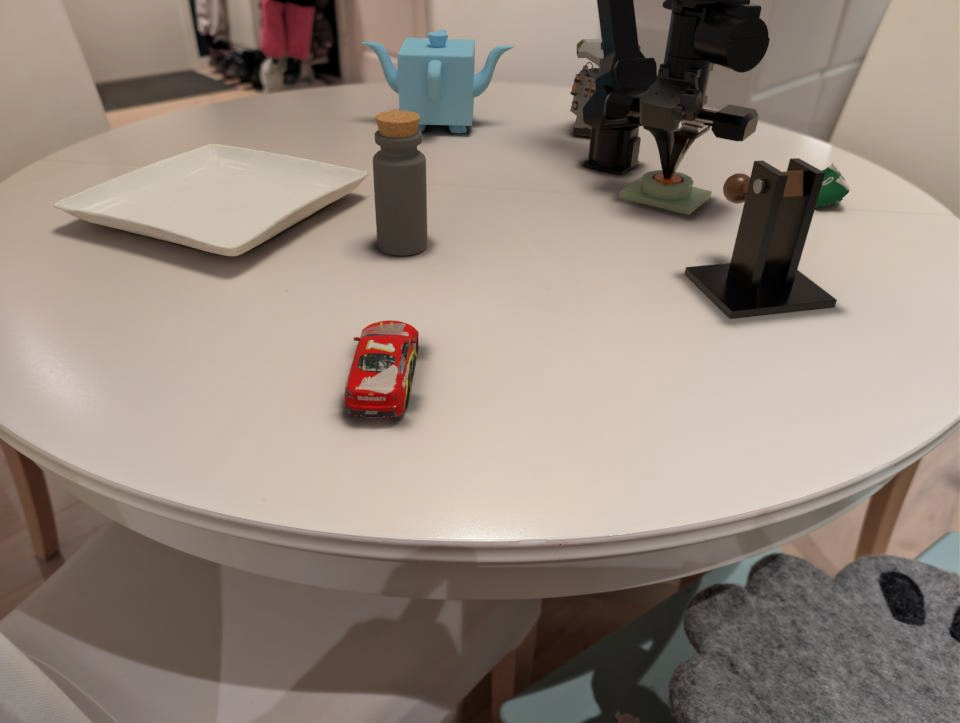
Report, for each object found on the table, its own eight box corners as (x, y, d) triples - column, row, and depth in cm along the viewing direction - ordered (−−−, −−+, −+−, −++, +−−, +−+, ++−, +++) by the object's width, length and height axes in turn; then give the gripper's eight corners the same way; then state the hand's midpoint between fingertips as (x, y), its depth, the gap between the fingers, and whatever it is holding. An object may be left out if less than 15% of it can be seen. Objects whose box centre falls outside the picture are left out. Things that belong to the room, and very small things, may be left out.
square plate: (374, 196, 100) (372, 168, 97) (237, 280, 79) (232, 246, 77) (215, 163, 109) (210, 137, 106) (56, 231, 88) (46, 199, 86)
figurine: (631, 143, 122) (645, 46, 113) (563, 135, 124) (571, 39, 116) (638, 128, 129) (651, 35, 121) (573, 121, 132) (582, 30, 123)
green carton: (813, 224, 100) (856, 197, 97) (798, 203, 99) (841, 175, 96) (802, 199, 107) (842, 174, 104) (788, 179, 106) (828, 153, 103)
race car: (366, 337, 70) (363, 300, 68) (423, 340, 70) (423, 302, 68) (336, 423, 59) (331, 382, 57) (404, 427, 59) (402, 386, 57)
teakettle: (434, 147, 118) (433, 48, 109) (362, 121, 128) (356, 29, 120) (515, 125, 129) (520, 34, 121) (442, 103, 140) (442, 18, 132)
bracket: (683, 276, 82) (707, 153, 74) (779, 267, 84) (812, 147, 77) (729, 321, 74) (761, 189, 66) (834, 310, 76) (877, 180, 69)
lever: (717, 205, 82) (717, 175, 81) (743, 203, 82) (743, 173, 82) (778, 201, 71) (778, 167, 70) (807, 199, 72) (808, 165, 71)
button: (648, 191, 100) (650, 178, 99) (658, 183, 102) (660, 171, 101) (673, 197, 98) (675, 184, 97) (683, 189, 101) (685, 176, 100)
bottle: (435, 239, 88) (433, 111, 80) (415, 259, 84) (411, 126, 75) (390, 232, 90) (384, 105, 82) (368, 251, 85) (360, 119, 77)
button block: (618, 199, 101) (621, 178, 99) (642, 183, 106) (645, 162, 104) (688, 217, 96) (692, 195, 94) (710, 199, 102) (714, 178, 100)
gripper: (590, 54, 89) (578, 179, 98) (743, 78, 81) (714, 212, 90) (629, 40, 97) (614, 157, 106) (772, 61, 89) (743, 186, 97)
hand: (667, 177), depth 99 cm, fingers closed, pressing on button
